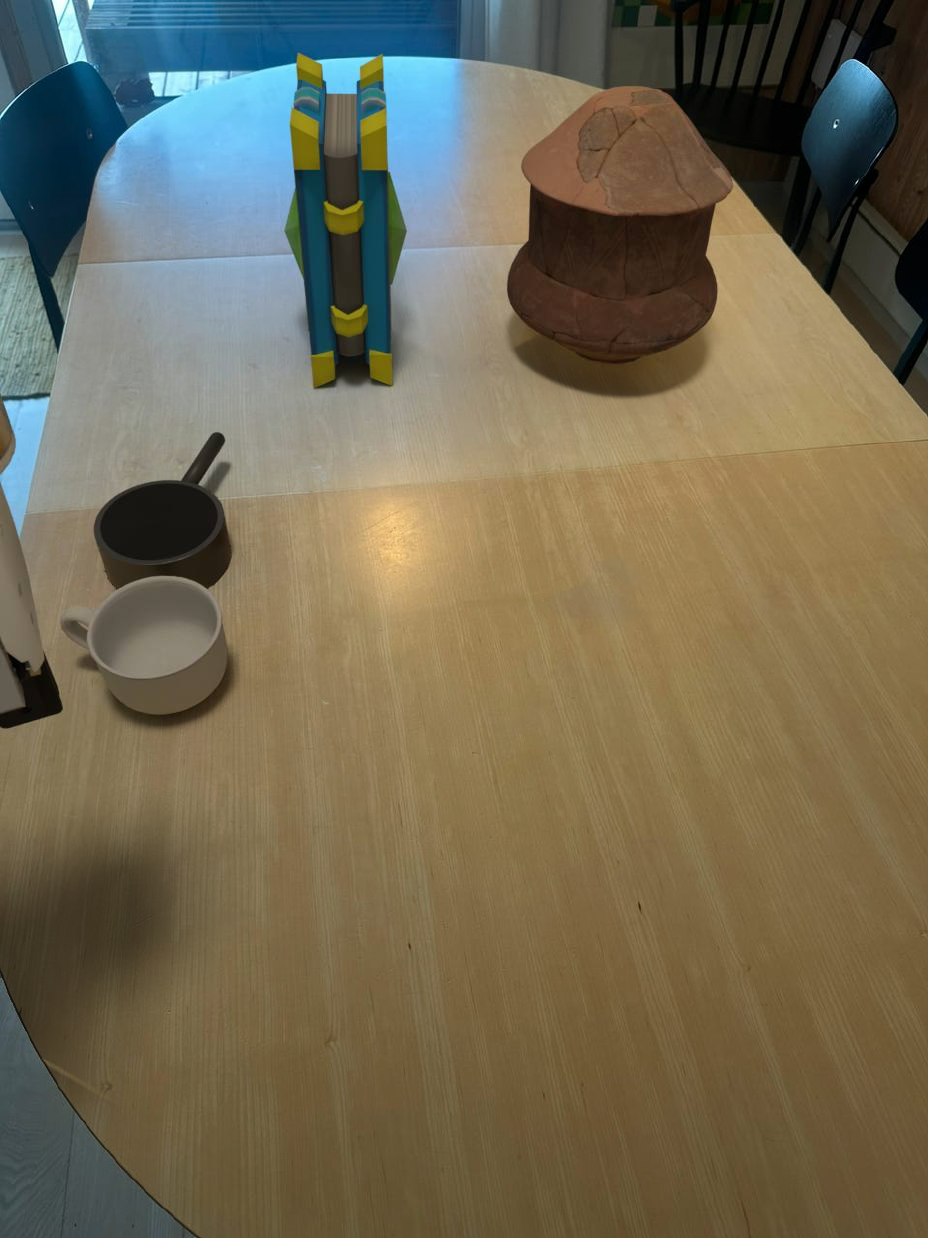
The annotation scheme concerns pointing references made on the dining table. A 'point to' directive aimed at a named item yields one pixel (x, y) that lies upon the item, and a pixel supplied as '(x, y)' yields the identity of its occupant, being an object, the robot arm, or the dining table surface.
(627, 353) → the pottery vessel
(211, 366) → the dining table surface
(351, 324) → the decorative book
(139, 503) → the milk pan
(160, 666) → the teacup
